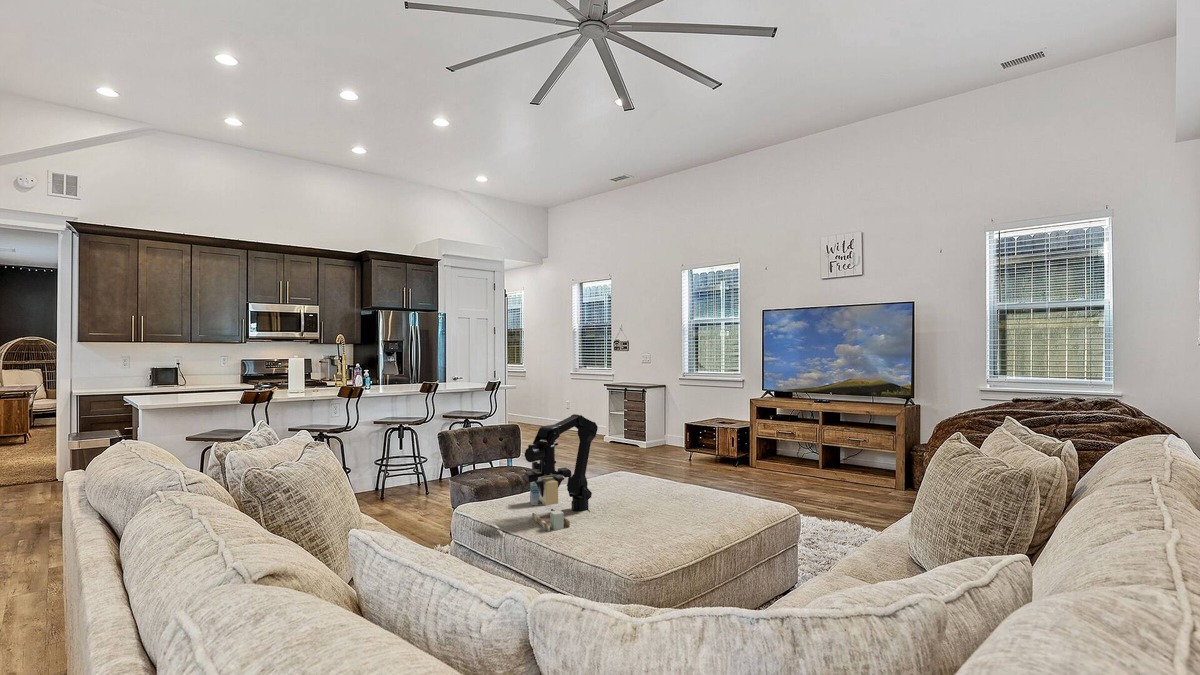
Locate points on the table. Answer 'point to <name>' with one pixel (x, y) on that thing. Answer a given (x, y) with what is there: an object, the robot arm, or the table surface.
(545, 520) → the shelf
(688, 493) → the table surface
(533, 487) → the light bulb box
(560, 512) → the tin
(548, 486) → the carton
